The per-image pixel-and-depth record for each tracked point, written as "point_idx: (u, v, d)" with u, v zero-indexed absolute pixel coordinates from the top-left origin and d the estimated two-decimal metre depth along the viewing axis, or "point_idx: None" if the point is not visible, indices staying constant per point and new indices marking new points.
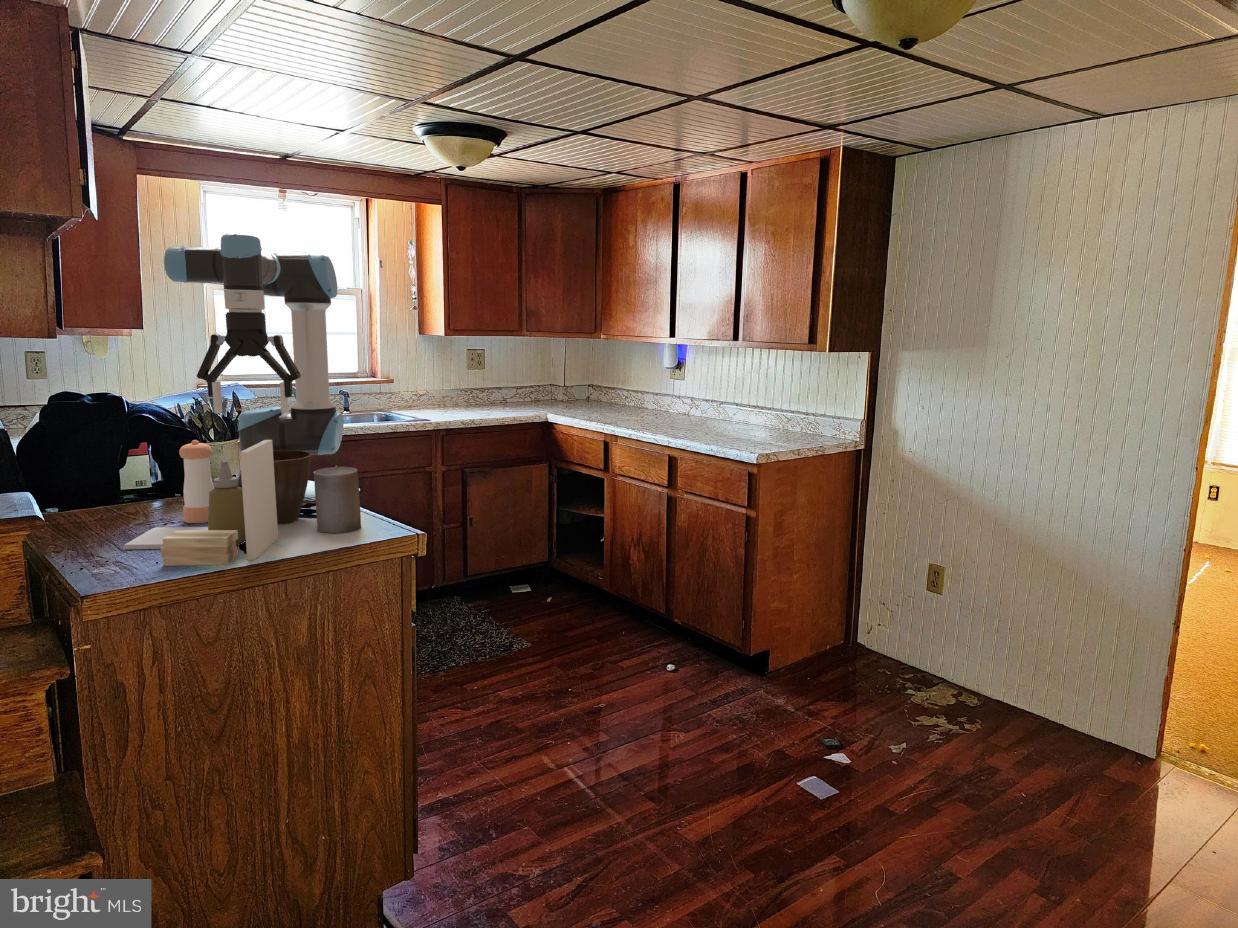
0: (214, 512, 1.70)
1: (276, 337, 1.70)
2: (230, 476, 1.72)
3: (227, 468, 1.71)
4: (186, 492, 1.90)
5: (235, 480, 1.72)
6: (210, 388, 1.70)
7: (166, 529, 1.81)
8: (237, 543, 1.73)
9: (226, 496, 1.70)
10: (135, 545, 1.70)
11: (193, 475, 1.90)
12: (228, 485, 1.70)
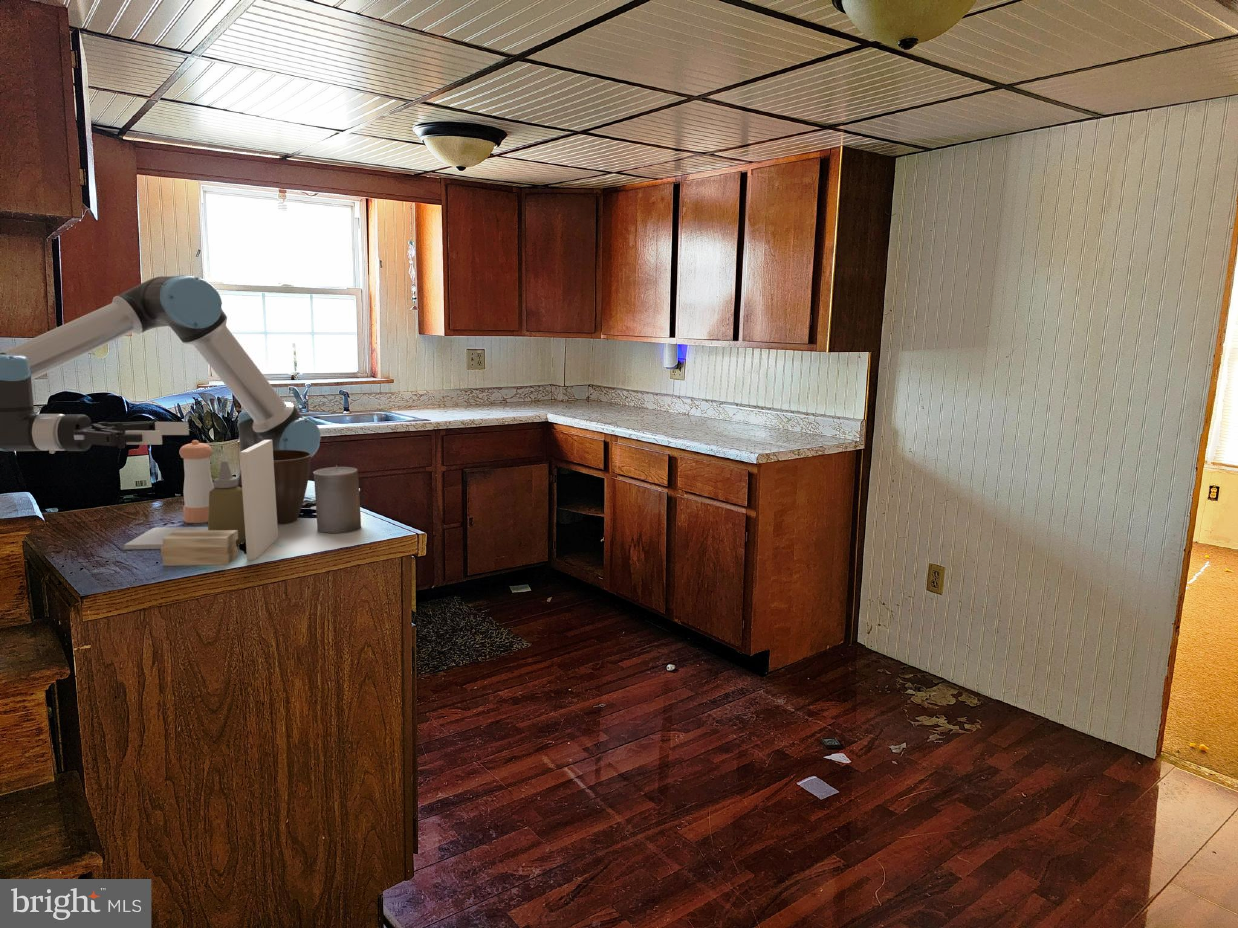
0: (214, 512, 1.70)
1: None
2: (230, 476, 1.72)
3: (227, 468, 1.71)
4: (186, 492, 1.90)
5: (235, 480, 1.72)
6: None
7: (166, 529, 1.81)
8: (237, 543, 1.73)
9: (226, 496, 1.70)
10: (135, 545, 1.70)
11: (193, 475, 1.90)
12: (228, 485, 1.70)
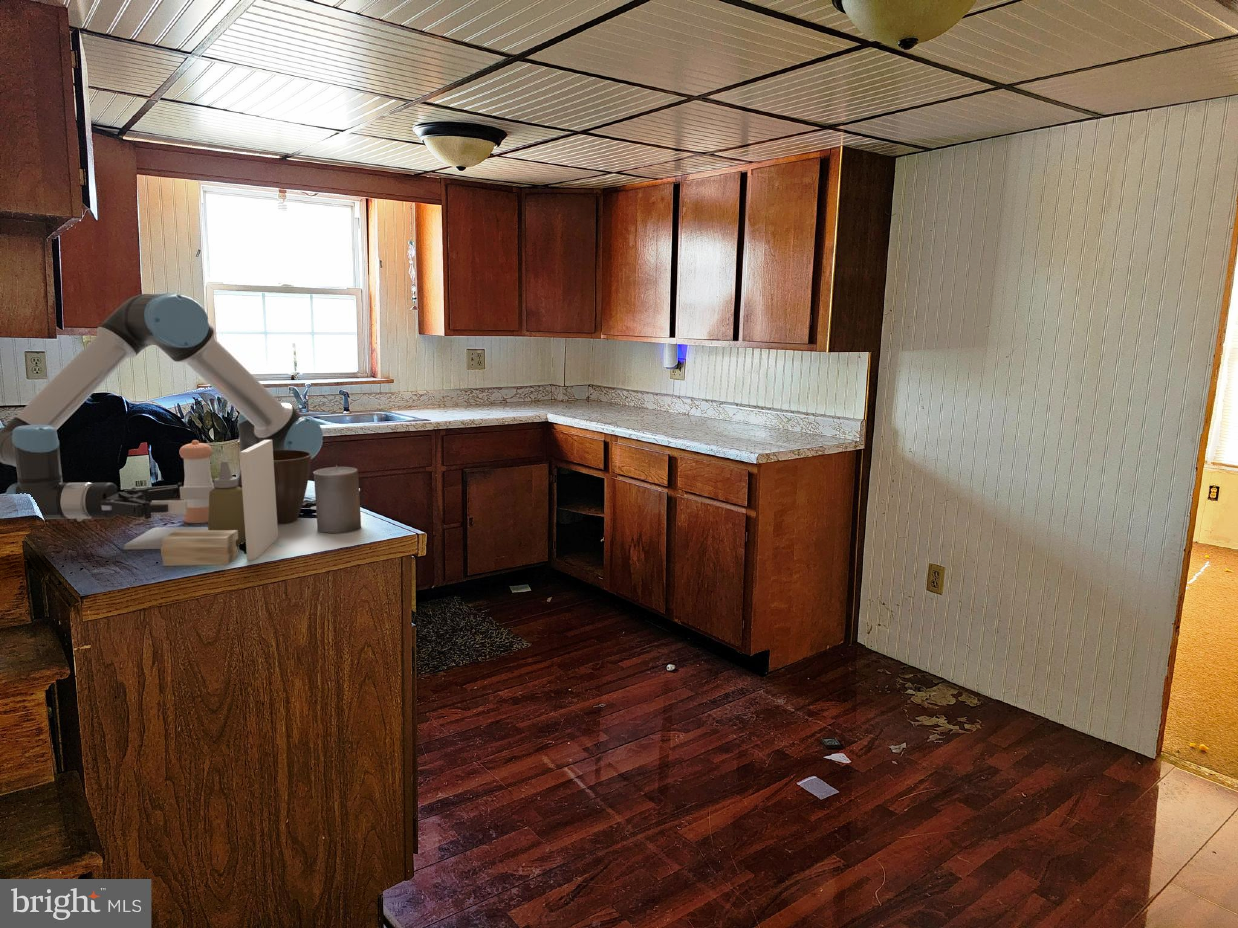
0: (214, 512, 1.70)
1: None
2: (230, 476, 1.72)
3: (227, 468, 1.71)
4: None
5: (235, 480, 1.72)
6: None
7: (166, 529, 1.81)
8: (237, 543, 1.73)
9: (226, 496, 1.70)
10: (135, 545, 1.70)
11: (193, 475, 1.90)
12: (228, 485, 1.70)
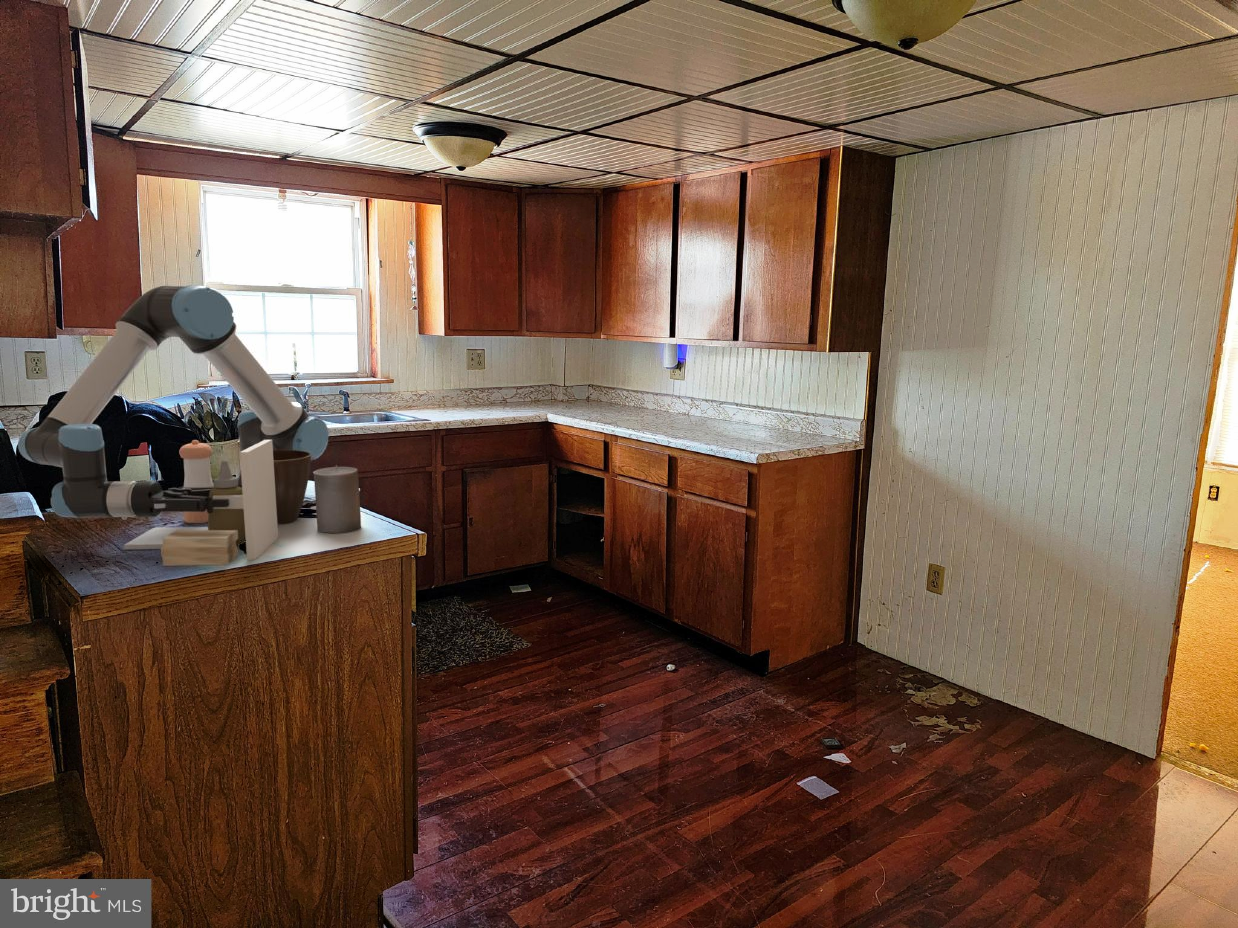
0: (214, 512, 1.70)
1: (156, 511, 1.65)
2: (230, 476, 1.72)
3: (227, 468, 1.71)
4: None
5: (235, 480, 1.72)
6: None
7: (166, 529, 1.81)
8: (237, 543, 1.73)
9: None
10: (135, 545, 1.70)
11: (193, 475, 1.90)
12: (228, 485, 1.70)
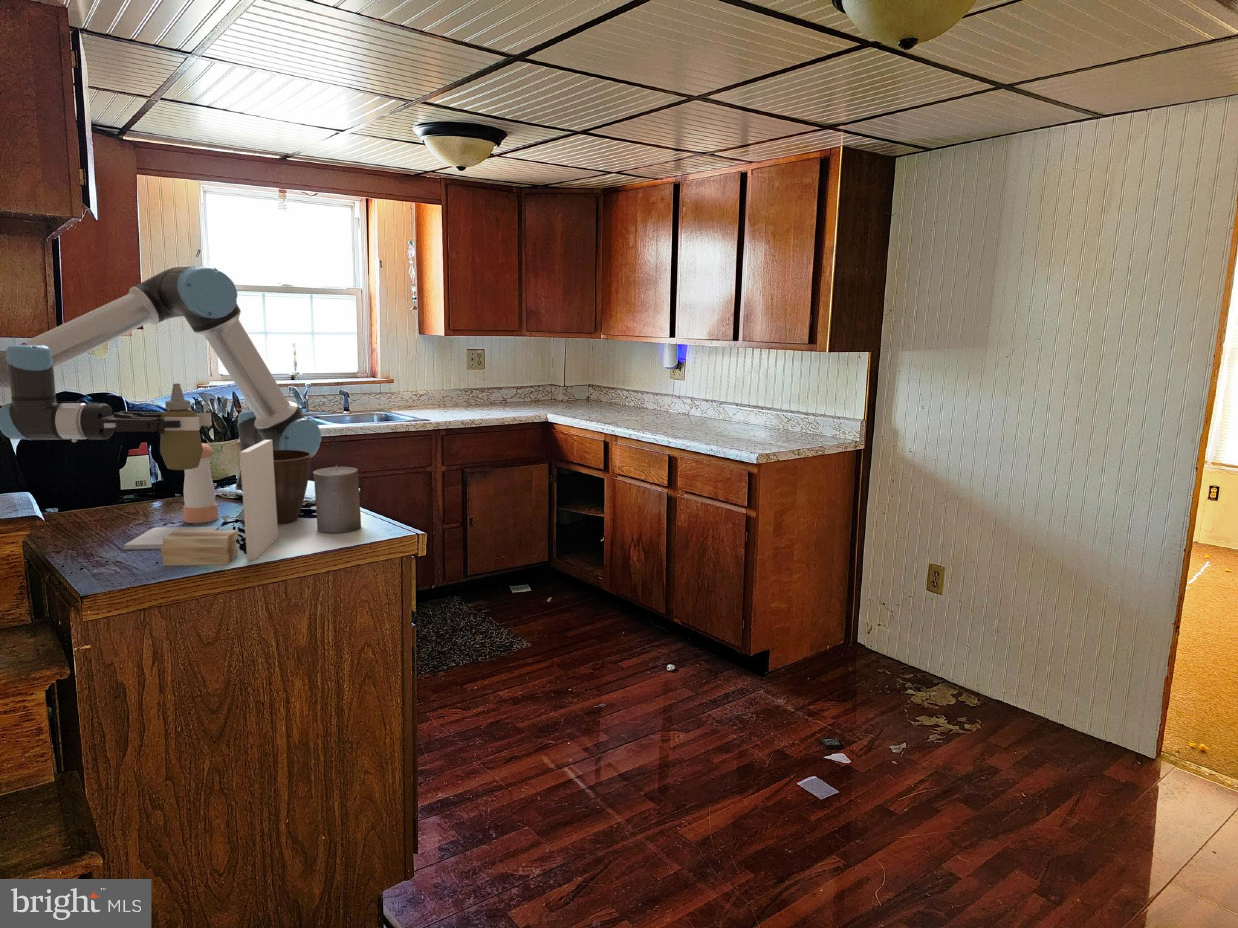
0: (165, 434, 1.69)
1: (106, 431, 1.64)
2: (182, 398, 1.71)
3: (180, 391, 1.70)
4: (186, 492, 1.90)
5: (187, 402, 1.71)
6: None
7: (166, 529, 1.81)
8: (190, 466, 1.72)
9: None
10: (135, 545, 1.70)
11: (193, 475, 1.90)
12: (180, 407, 1.70)
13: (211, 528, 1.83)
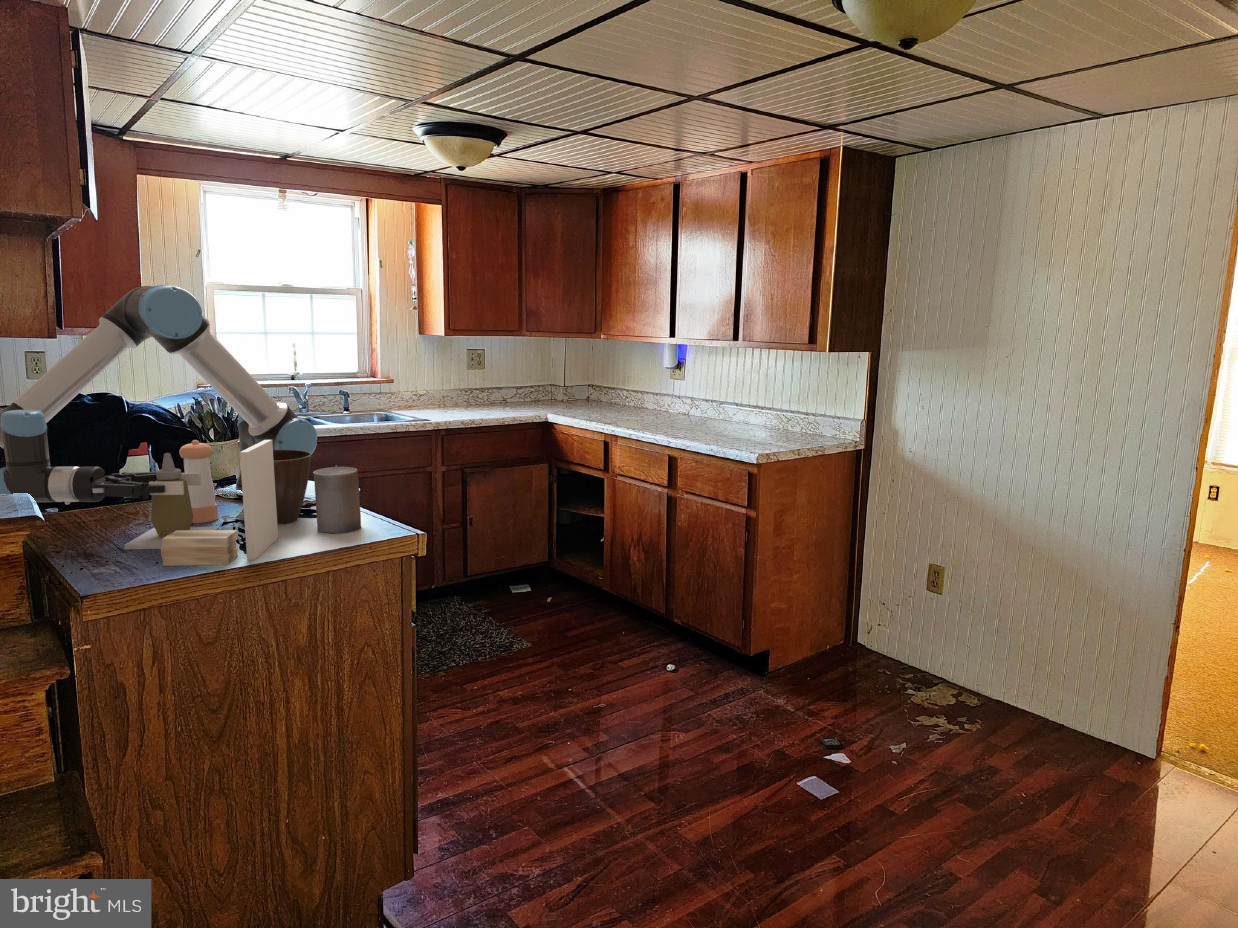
0: (156, 504, 1.72)
1: None
2: (173, 468, 1.74)
3: (170, 461, 1.73)
4: None
5: (178, 472, 1.74)
6: None
7: None
8: None
9: None
10: (135, 545, 1.70)
11: None
12: (171, 477, 1.72)
13: (211, 528, 1.83)
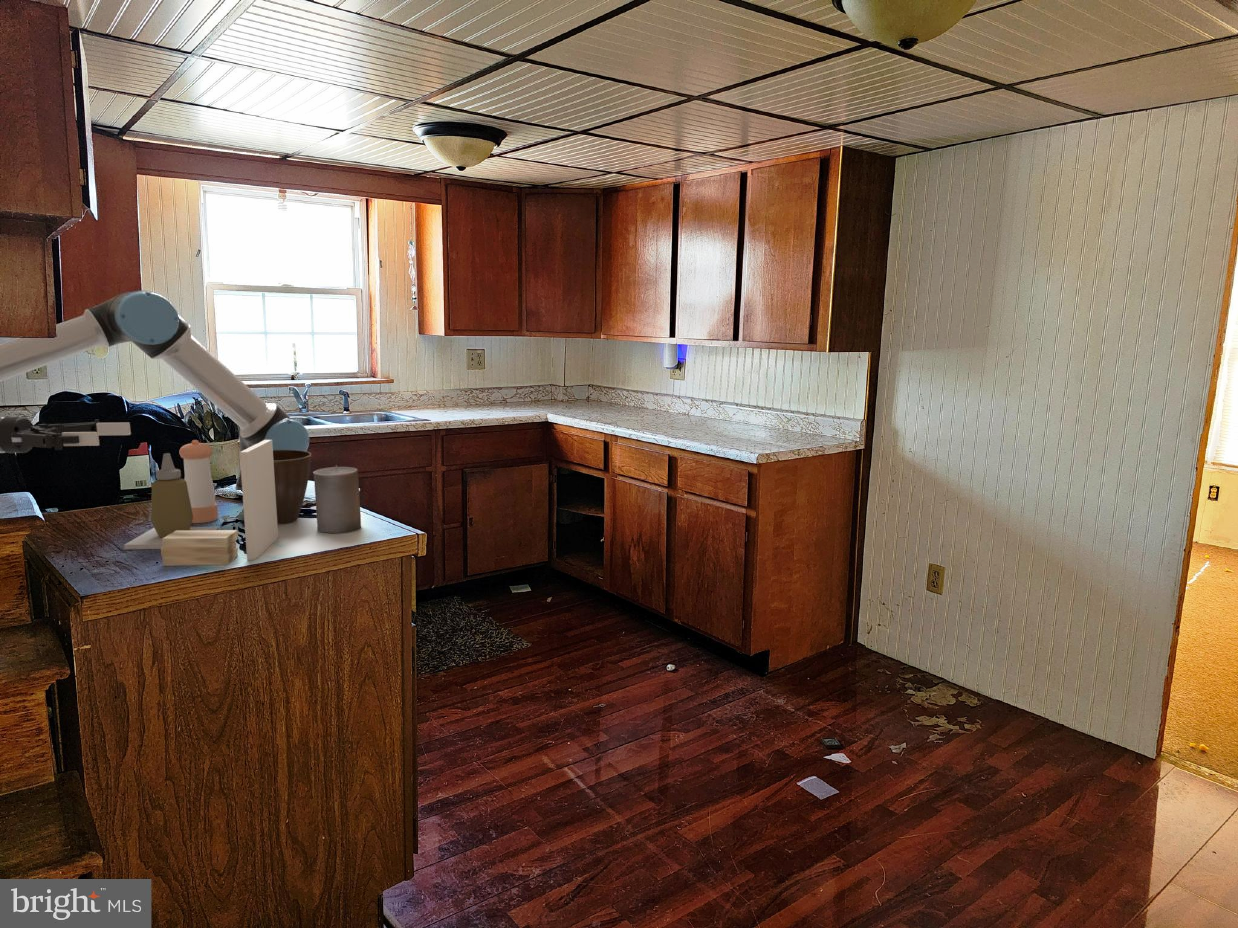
0: (156, 504, 1.72)
1: None
2: (172, 468, 1.74)
3: (170, 460, 1.74)
4: None
5: (177, 472, 1.74)
6: None
7: None
8: None
9: (168, 488, 1.72)
10: (135, 545, 1.70)
11: (193, 475, 1.90)
12: (170, 477, 1.73)
13: (211, 528, 1.83)
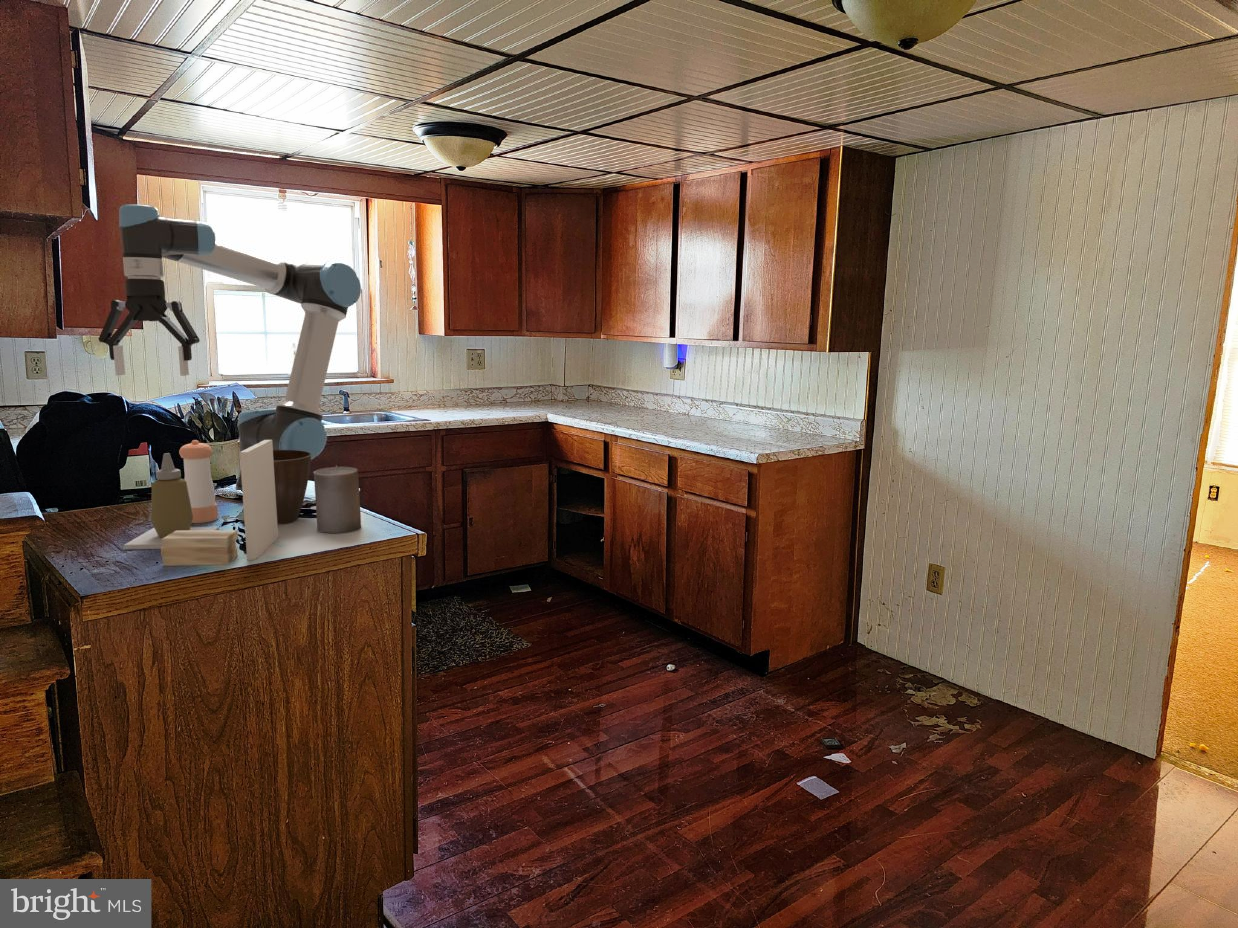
0: (156, 504, 1.72)
1: (174, 303, 1.79)
2: (172, 468, 1.74)
3: (170, 460, 1.74)
4: None
5: (177, 472, 1.74)
6: (112, 351, 1.80)
7: None
8: None
9: (168, 488, 1.72)
10: (135, 545, 1.70)
11: (193, 475, 1.90)
12: (170, 477, 1.73)
13: (211, 528, 1.83)
